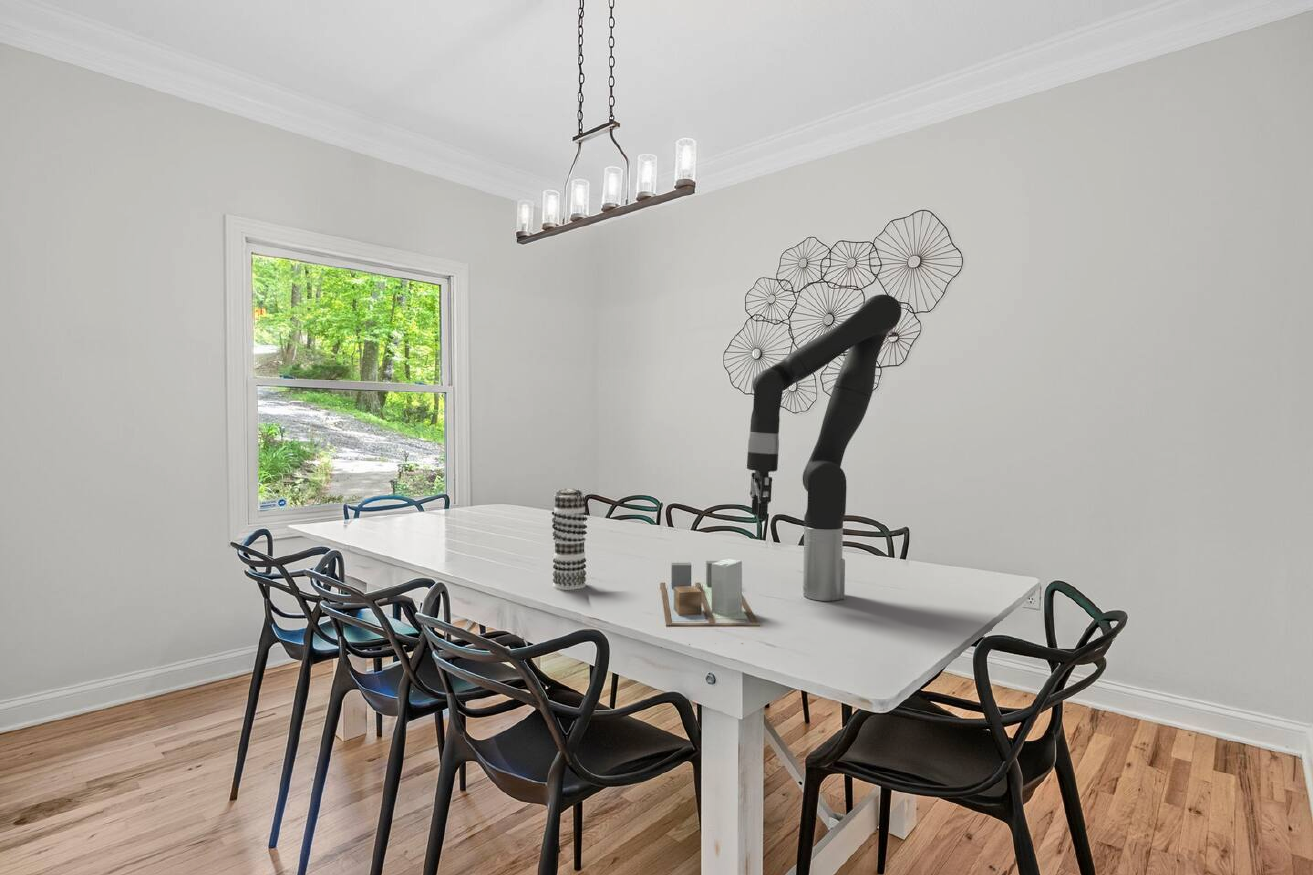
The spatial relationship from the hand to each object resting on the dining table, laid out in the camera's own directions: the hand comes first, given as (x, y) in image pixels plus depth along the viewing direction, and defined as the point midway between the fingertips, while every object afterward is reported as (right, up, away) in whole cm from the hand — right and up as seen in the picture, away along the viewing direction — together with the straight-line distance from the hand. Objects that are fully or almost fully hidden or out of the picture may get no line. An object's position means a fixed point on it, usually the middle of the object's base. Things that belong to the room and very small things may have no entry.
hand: (758, 516), depth 168 cm
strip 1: (-19, -20, -11) cm, 29 cm away
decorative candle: (-48, -19, +8) cm, 52 cm away
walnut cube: (-18, -19, -19) cm, 33 cm away
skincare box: (-10, -20, -19) cm, 29 cm away
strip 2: (-10, -20, -9) cm, 24 cm away
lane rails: (-14, -20, -11) cm, 27 cm away
